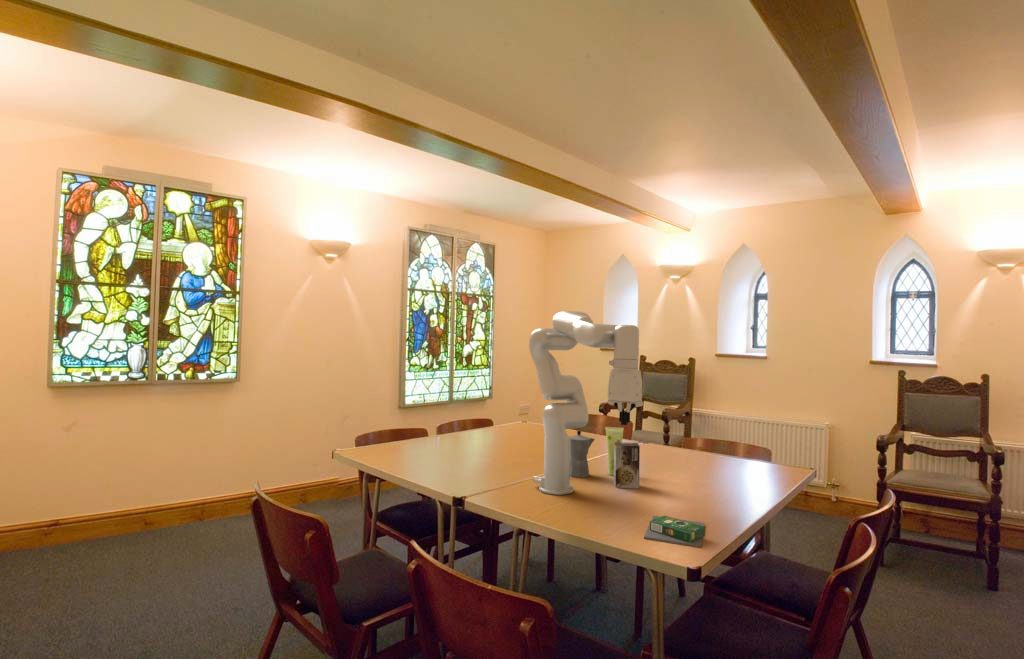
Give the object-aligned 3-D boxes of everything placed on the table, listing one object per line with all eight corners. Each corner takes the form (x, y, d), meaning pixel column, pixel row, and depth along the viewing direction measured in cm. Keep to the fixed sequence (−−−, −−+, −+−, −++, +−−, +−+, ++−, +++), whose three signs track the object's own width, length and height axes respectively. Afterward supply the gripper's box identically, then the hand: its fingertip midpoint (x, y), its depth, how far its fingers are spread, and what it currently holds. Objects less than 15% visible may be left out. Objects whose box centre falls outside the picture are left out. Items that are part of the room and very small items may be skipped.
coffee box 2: (648, 530, 156) (691, 543, 147) (648, 520, 156) (691, 533, 147) (663, 524, 162) (705, 536, 153) (663, 514, 162) (705, 526, 153)
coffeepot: (591, 472, 228) (592, 429, 228) (596, 478, 218) (597, 432, 219) (554, 471, 227) (556, 428, 227) (558, 477, 217) (559, 432, 218)
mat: (643, 538, 151) (643, 536, 151) (653, 517, 170) (653, 515, 170) (701, 547, 146) (701, 545, 146) (704, 524, 164) (704, 522, 164)
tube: (611, 476, 221) (612, 428, 222) (604, 473, 226) (605, 426, 226) (622, 475, 224) (623, 427, 224) (615, 472, 228) (616, 425, 229)
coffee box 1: (637, 484, 210) (638, 442, 210) (639, 489, 203) (640, 445, 204) (613, 483, 211) (614, 441, 211) (614, 487, 204) (615, 444, 205)
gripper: (599, 364, 168) (597, 424, 168) (648, 366, 162) (647, 428, 162) (604, 363, 175) (603, 421, 175) (652, 365, 169) (651, 425, 169)
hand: (624, 424), depth 168 cm, fingers closed
